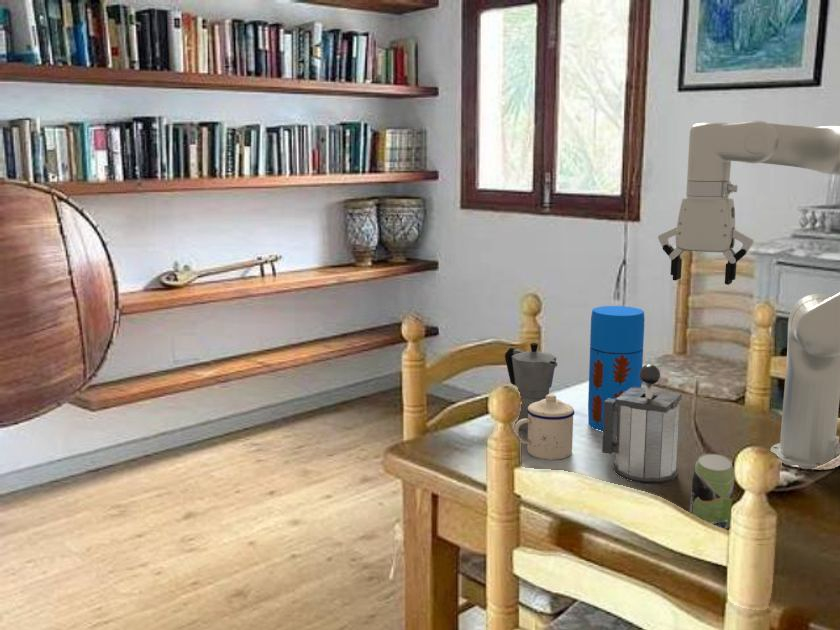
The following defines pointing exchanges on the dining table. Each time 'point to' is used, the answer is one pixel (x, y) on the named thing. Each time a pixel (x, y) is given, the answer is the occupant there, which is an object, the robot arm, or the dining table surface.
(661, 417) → the press pot
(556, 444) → the teacup with lid
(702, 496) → the beverage can
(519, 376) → the coffeepot
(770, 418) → the dining table surface
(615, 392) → the thermos
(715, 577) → the dining table surface
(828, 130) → the robot arm
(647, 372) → the plunger
